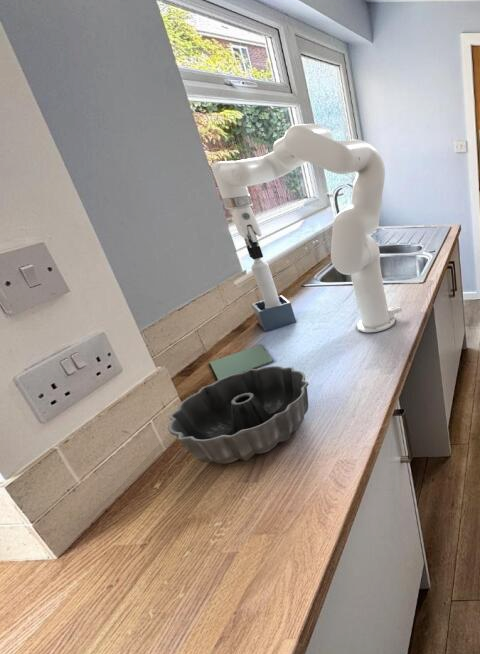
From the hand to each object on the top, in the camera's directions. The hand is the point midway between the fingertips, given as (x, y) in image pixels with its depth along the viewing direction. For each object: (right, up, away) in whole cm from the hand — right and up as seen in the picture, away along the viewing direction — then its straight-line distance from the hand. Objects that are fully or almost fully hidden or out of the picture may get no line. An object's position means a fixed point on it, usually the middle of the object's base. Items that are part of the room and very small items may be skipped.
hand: (256, 257), depth 136 cm
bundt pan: (+27, -46, -43) cm, 68 cm away
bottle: (+1, -18, +8) cm, 20 cm away
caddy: (+1, -22, +10) cm, 25 cm away
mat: (+4, -34, -14) cm, 37 cm away
